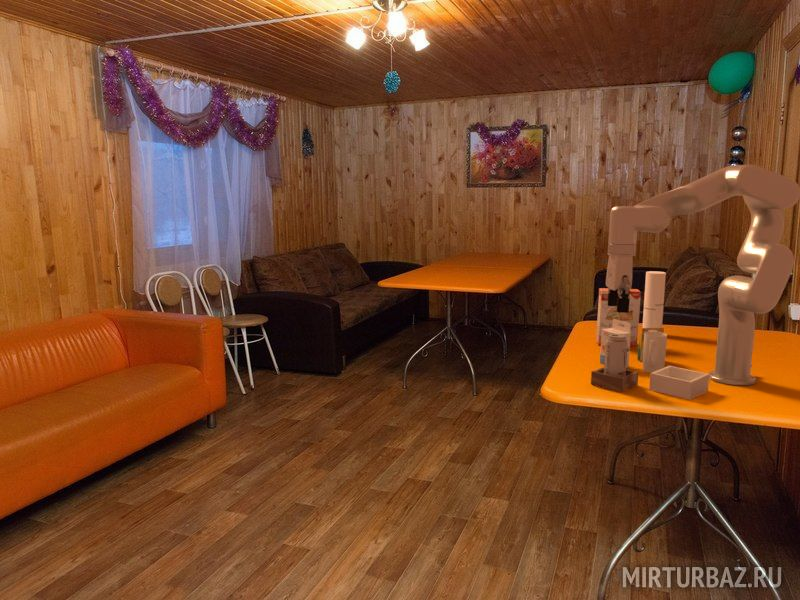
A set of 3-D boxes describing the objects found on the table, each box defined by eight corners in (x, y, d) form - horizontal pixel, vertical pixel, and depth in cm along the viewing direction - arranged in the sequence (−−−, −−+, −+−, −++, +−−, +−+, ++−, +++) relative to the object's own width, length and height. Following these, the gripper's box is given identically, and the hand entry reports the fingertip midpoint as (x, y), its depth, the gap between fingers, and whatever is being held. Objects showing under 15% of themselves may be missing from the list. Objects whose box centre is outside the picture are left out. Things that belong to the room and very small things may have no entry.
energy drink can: (623, 389, 177) (626, 338, 174) (601, 386, 180) (604, 336, 177) (626, 383, 182) (629, 334, 180) (605, 380, 185) (608, 332, 182)
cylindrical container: (664, 336, 240) (668, 273, 236) (646, 336, 241) (650, 273, 236) (657, 332, 248) (661, 271, 243) (639, 332, 248) (643, 271, 243)
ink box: (598, 363, 204) (601, 319, 202) (610, 361, 206) (612, 318, 204) (617, 369, 197) (620, 324, 194) (629, 367, 199) (632, 323, 196)
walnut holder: (608, 377, 188) (608, 365, 187) (637, 385, 181) (638, 372, 180) (590, 384, 181) (591, 371, 181) (620, 392, 174) (621, 378, 174)
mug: (644, 366, 200) (647, 330, 198) (666, 369, 196) (669, 333, 194) (637, 374, 192) (639, 336, 190) (659, 377, 188) (662, 339, 186)
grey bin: (668, 381, 184) (669, 365, 183) (708, 390, 175) (709, 374, 174) (649, 389, 176) (650, 373, 175) (689, 399, 168) (691, 382, 167)
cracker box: (598, 345, 227) (601, 290, 223) (595, 341, 233) (598, 287, 229) (637, 347, 225) (641, 290, 221) (634, 343, 231) (637, 288, 227)
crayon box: (658, 359, 208) (660, 326, 206) (662, 361, 205) (664, 328, 203) (636, 359, 208) (639, 326, 206) (640, 361, 205) (642, 328, 203)
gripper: (600, 247, 183) (597, 303, 186) (616, 252, 166) (612, 314, 169) (626, 247, 182) (622, 304, 185) (645, 253, 165) (640, 315, 168)
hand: (617, 309), depth 177 cm, fingers open, 9 cm apart
